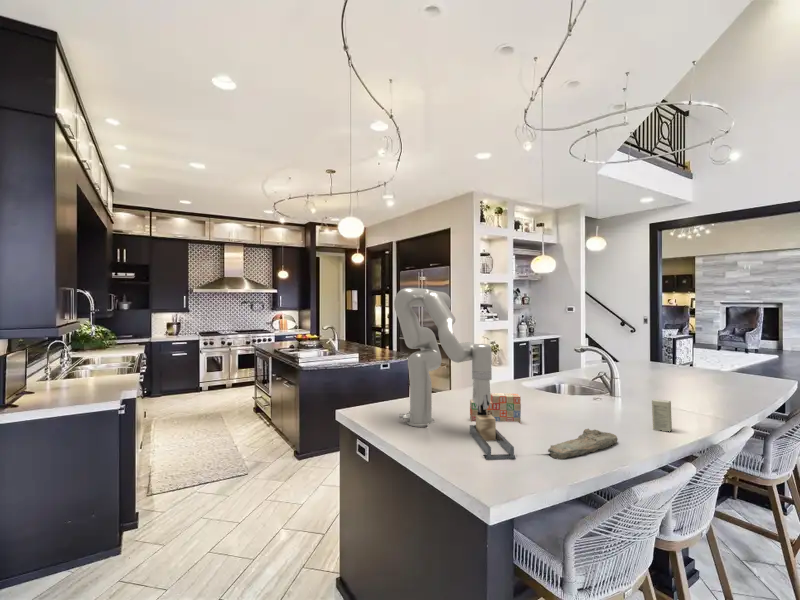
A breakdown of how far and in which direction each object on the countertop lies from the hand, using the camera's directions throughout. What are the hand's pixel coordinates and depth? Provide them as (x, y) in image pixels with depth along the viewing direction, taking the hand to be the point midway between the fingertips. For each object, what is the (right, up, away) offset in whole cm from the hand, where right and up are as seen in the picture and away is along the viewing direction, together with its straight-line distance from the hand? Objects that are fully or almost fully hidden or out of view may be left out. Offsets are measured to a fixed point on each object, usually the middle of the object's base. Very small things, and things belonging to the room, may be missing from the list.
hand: (482, 421), depth 162 cm
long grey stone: (+34, -6, -14) cm, 37 cm away
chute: (+1, -6, -11) cm, 13 cm away
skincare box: (+76, -6, +8) cm, 77 cm away
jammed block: (0, -5, -5) cm, 7 cm away
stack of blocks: (+10, -6, +21) cm, 24 cm away
